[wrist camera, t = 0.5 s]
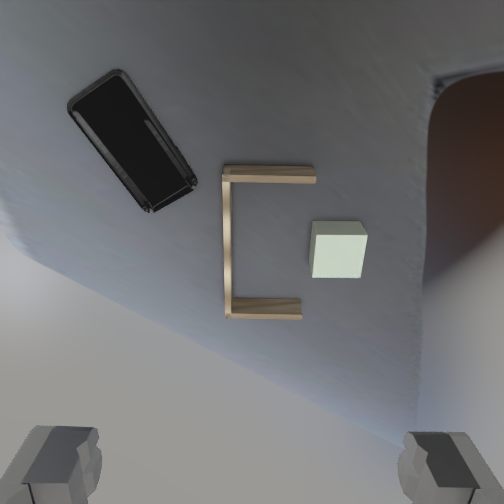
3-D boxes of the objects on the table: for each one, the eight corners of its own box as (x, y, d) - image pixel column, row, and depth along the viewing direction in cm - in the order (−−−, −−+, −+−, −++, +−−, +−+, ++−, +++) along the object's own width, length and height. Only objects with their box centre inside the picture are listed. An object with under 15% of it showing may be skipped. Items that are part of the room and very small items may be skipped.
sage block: (312, 220, 50) (316, 234, 46) (359, 220, 50) (367, 235, 46) (308, 260, 53) (312, 277, 49) (353, 261, 53) (360, 277, 49)
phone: (147, 216, 49) (62, 105, 42) (149, 212, 50) (66, 103, 43) (200, 186, 47) (119, 65, 40) (202, 182, 48) (122, 64, 41)
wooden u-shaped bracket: (224, 164, 46) (222, 174, 43) (312, 166, 46) (316, 176, 43) (226, 302, 56) (225, 318, 53) (299, 303, 56) (301, 319, 53)
